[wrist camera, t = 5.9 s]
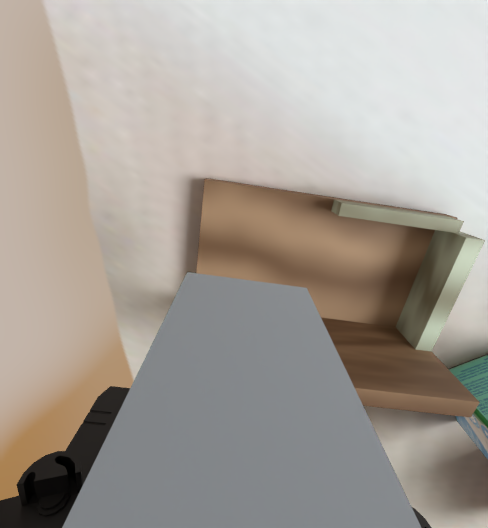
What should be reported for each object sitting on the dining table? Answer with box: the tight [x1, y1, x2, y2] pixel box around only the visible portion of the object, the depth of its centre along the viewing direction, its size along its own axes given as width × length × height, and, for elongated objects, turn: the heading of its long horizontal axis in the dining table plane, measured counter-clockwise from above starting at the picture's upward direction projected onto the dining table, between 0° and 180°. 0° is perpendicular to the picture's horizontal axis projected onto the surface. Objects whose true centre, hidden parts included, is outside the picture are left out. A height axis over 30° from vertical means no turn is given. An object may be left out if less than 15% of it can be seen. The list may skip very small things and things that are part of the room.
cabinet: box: [62, 272, 421, 528], centre depth 9 cm, size 7×6×13 cm
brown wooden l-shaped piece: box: [196, 178, 485, 417], centre depth 22 cm, size 13×22×10 cm, turn 82°
